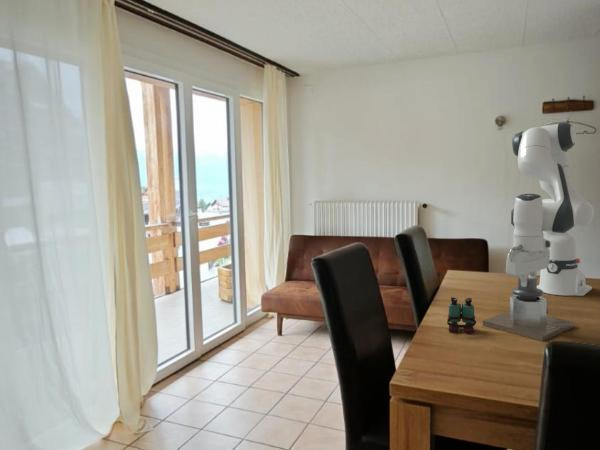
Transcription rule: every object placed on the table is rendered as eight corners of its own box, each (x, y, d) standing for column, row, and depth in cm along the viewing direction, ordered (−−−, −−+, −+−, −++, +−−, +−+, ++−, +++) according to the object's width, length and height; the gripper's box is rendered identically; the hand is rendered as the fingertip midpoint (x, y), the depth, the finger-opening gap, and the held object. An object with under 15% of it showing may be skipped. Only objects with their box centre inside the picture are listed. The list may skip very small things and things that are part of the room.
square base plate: (515, 313, 162) (515, 287, 161) (574, 326, 145) (575, 298, 144) (482, 325, 151) (482, 297, 150) (542, 341, 134) (542, 310, 133)
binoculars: (446, 306, 141) (447, 295, 151) (447, 337, 143) (447, 324, 153) (477, 307, 138) (475, 296, 148) (477, 339, 140) (475, 325, 150)
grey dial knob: (521, 294, 153) (521, 274, 153) (548, 299, 146) (548, 278, 145) (506, 298, 148) (506, 278, 148) (533, 304, 141) (533, 282, 140)
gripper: (519, 248, 137) (519, 292, 138) (553, 241, 148) (553, 282, 150) (500, 246, 142) (500, 289, 144) (534, 239, 153) (534, 279, 155)
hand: (527, 285), depth 147 cm, fingers closed on grey dial knob, 2 cm apart
